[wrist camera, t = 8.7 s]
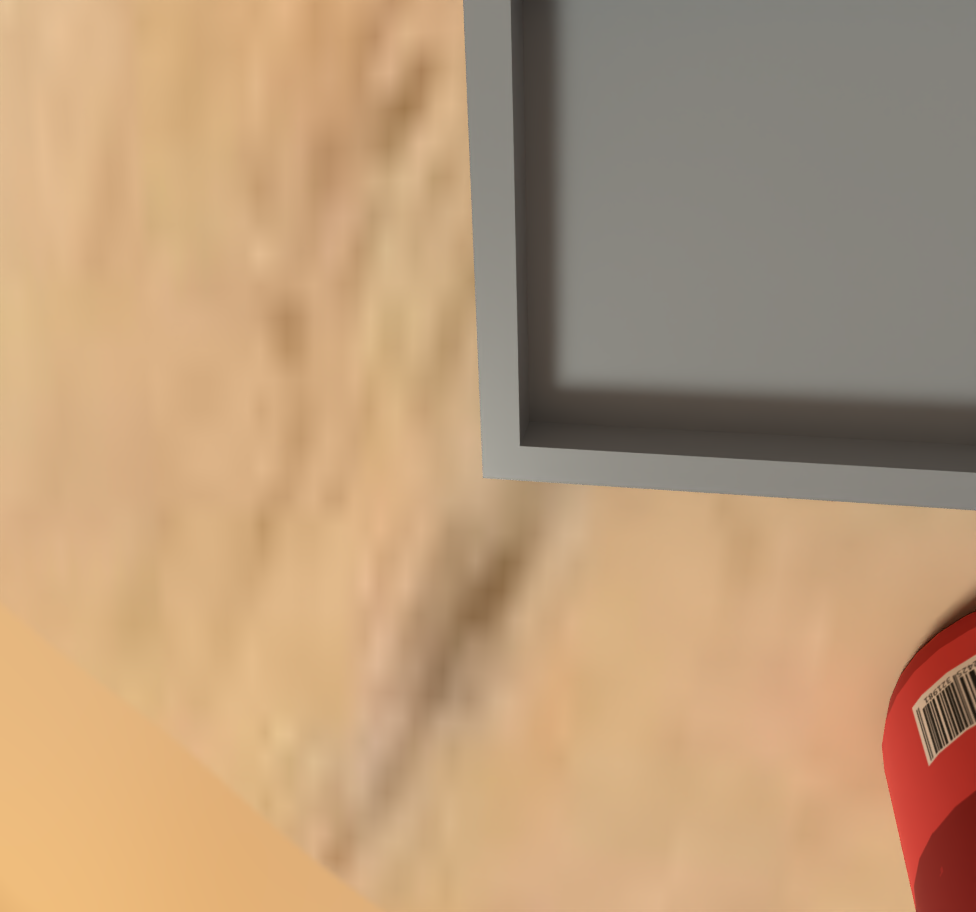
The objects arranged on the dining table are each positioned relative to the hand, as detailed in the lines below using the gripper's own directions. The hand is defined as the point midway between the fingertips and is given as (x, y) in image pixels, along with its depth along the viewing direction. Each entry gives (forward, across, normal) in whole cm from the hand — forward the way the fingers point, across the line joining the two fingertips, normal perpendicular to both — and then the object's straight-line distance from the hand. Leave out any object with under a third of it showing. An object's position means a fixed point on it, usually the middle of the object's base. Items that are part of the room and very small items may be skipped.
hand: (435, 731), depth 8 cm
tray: (+13, -4, -2) cm, 14 cm away
